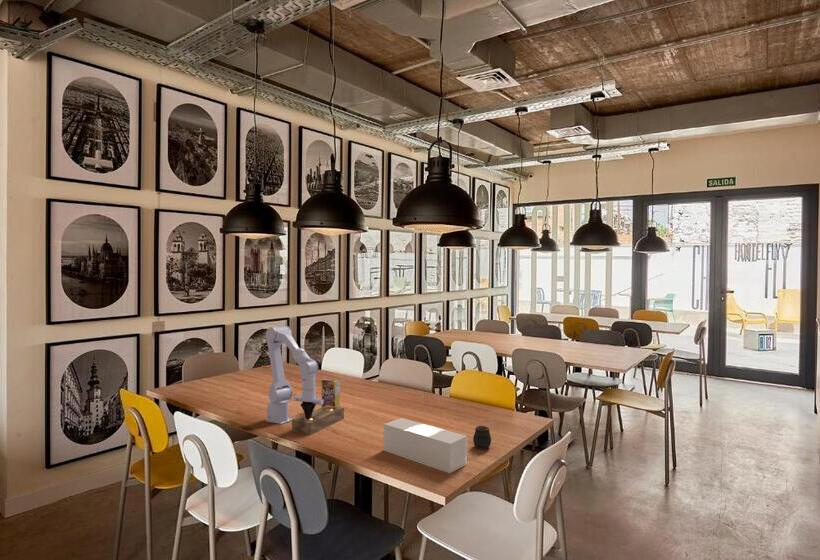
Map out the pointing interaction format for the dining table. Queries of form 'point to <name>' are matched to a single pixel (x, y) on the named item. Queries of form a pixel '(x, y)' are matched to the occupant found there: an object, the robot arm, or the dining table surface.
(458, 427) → the dining table surface
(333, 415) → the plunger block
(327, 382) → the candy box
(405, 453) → the white box
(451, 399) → the dining table surface
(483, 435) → the mate gourd
